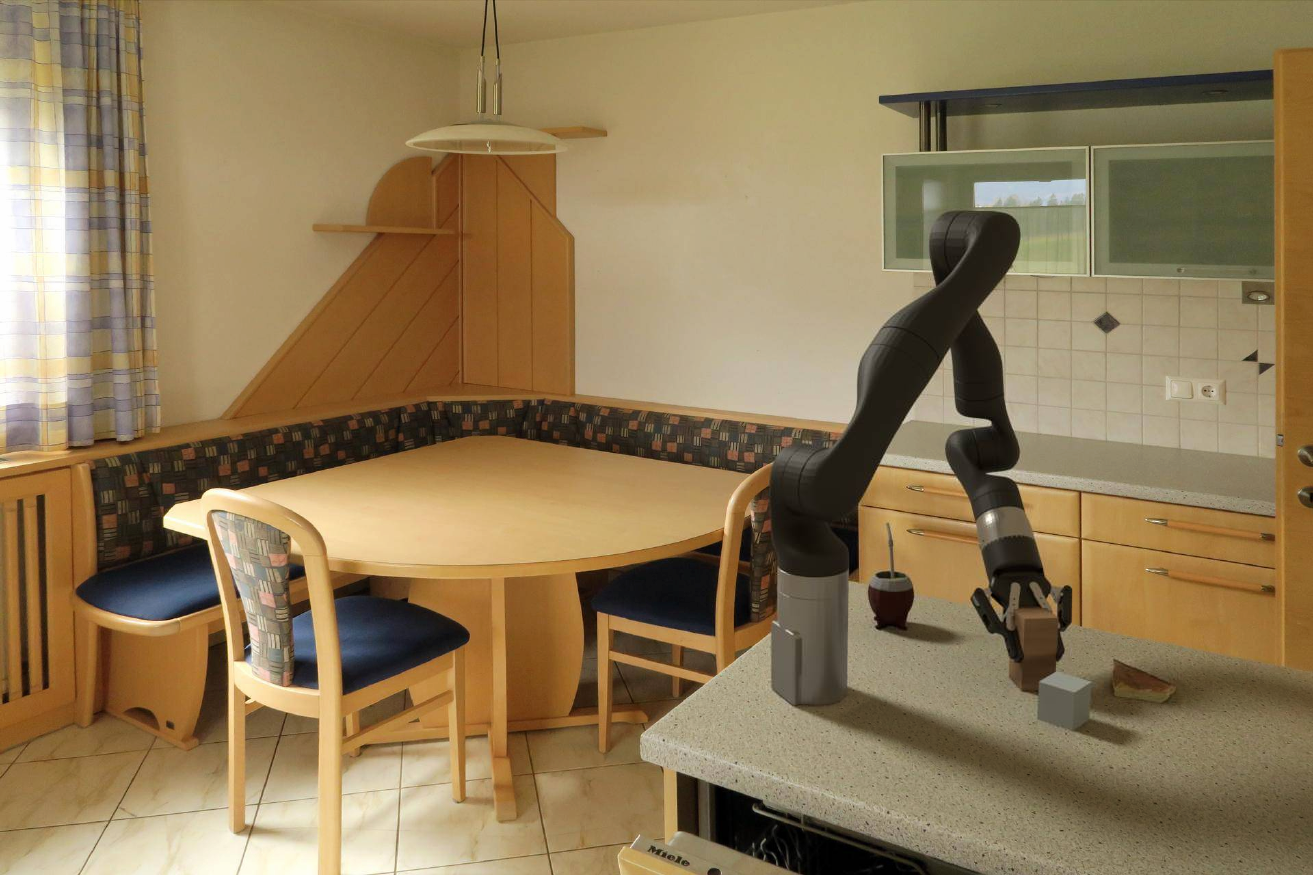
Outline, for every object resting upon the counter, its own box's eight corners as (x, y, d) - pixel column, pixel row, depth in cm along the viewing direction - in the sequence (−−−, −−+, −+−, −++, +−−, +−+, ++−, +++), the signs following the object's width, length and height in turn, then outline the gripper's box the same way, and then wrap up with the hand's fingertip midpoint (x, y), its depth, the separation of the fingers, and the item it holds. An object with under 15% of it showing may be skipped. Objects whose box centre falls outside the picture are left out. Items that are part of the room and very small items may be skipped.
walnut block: (1054, 689, 136) (1058, 617, 134) (1021, 690, 136) (1024, 618, 134) (1041, 675, 140) (1044, 606, 138) (1008, 677, 140) (1011, 607, 138)
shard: (1112, 668, 143) (1113, 656, 143) (1173, 676, 140) (1174, 664, 140) (1111, 699, 134) (1111, 686, 133) (1176, 708, 131) (1177, 695, 130)
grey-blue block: (1072, 731, 124) (1074, 692, 123) (1037, 719, 127) (1039, 681, 127) (1089, 719, 127) (1091, 681, 126) (1054, 708, 130) (1056, 671, 130)
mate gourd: (892, 636, 156) (894, 540, 153) (853, 622, 162) (855, 530, 159) (924, 625, 160) (927, 532, 157) (885, 611, 166) (887, 522, 164)
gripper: (965, 534, 142) (993, 650, 132) (1066, 531, 142) (1102, 646, 132) (951, 560, 148) (977, 673, 138) (1049, 557, 148) (1082, 669, 139)
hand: (1038, 659), depth 135 cm, fingers closed on walnut block, 4 cm apart
